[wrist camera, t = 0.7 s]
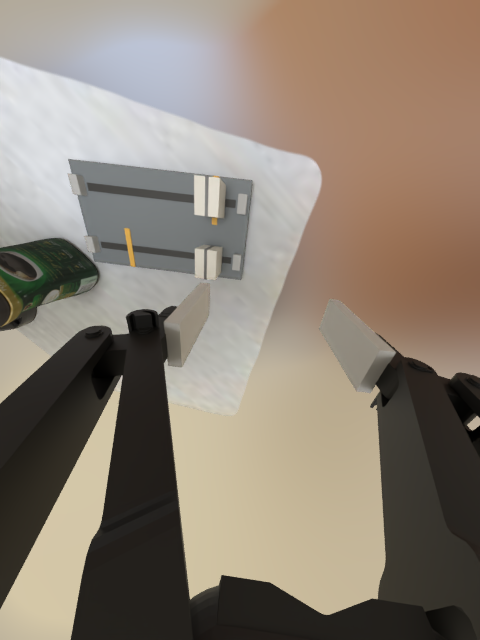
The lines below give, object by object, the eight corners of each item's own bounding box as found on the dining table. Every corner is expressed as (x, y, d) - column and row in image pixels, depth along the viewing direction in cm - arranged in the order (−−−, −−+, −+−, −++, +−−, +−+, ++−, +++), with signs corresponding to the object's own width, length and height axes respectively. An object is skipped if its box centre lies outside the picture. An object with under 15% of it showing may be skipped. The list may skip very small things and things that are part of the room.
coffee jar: (42, 259, 35) (-146, 291, 19) (59, 230, 32) (-143, 236, 16) (87, 297, 38) (-40, 353, 22) (107, 273, 35) (-21, 316, 19)
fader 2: (203, 270, 31) (195, 278, 27) (203, 244, 29) (194, 248, 25) (221, 272, 31) (215, 280, 27) (222, 246, 29) (216, 250, 25)
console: (102, 259, 34) (89, 262, 31) (80, 163, 28) (60, 156, 25) (241, 276, 34) (240, 281, 31) (252, 183, 27) (252, 178, 24)
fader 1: (204, 216, 28) (194, 215, 23) (204, 182, 26) (193, 174, 21) (224, 218, 27) (218, 218, 23) (226, 185, 26) (219, 177, 21)
